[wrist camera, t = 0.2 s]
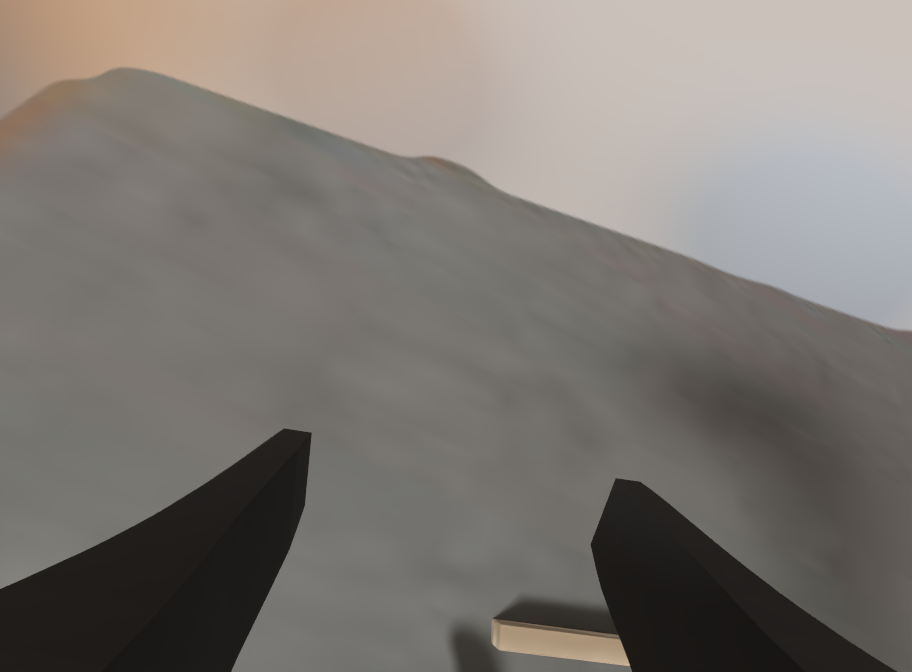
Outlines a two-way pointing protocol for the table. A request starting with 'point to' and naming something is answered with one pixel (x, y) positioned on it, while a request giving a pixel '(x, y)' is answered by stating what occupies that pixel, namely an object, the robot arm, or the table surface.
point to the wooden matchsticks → (558, 642)
